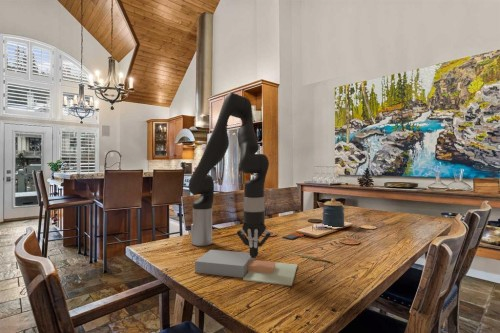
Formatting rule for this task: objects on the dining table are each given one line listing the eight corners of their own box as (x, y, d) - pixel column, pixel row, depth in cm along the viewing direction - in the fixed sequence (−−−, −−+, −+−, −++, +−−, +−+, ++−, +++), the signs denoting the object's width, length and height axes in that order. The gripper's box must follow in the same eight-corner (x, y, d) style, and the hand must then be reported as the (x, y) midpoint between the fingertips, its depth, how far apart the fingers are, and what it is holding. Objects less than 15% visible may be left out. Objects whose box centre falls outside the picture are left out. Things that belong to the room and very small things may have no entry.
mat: (243, 280, 93) (243, 278, 93) (256, 261, 110) (256, 260, 110) (291, 285, 88) (291, 284, 88) (297, 265, 106) (297, 264, 106)
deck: (195, 272, 99) (194, 261, 99) (210, 259, 113) (210, 249, 113) (243, 277, 95) (243, 266, 95) (253, 263, 108) (253, 253, 108)
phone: (307, 233, 152) (292, 238, 141) (307, 235, 152) (292, 241, 141) (297, 231, 156) (281, 236, 145) (297, 233, 156) (281, 239, 145)
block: (247, 271, 99) (247, 265, 99) (251, 265, 105) (251, 259, 105) (272, 273, 97) (272, 267, 97) (275, 267, 103) (275, 262, 103)
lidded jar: (323, 229, 165) (323, 199, 165) (321, 224, 178) (321, 196, 178) (346, 230, 163) (346, 199, 163) (342, 225, 176) (342, 197, 175)
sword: (277, 252, 124) (277, 250, 124) (283, 250, 127) (283, 248, 127) (330, 265, 107) (330, 262, 107) (334, 262, 110) (334, 260, 110)
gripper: (233, 210, 99) (233, 259, 99) (270, 211, 95) (270, 262, 95) (239, 207, 106) (239, 252, 106) (274, 208, 103) (274, 255, 103)
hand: (254, 257), depth 101 cm, fingers closed
